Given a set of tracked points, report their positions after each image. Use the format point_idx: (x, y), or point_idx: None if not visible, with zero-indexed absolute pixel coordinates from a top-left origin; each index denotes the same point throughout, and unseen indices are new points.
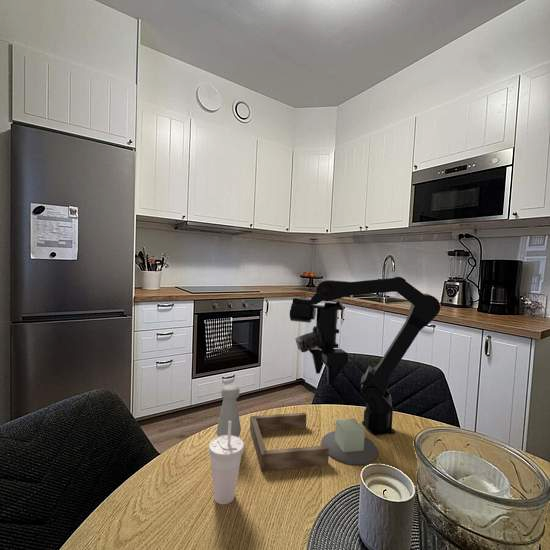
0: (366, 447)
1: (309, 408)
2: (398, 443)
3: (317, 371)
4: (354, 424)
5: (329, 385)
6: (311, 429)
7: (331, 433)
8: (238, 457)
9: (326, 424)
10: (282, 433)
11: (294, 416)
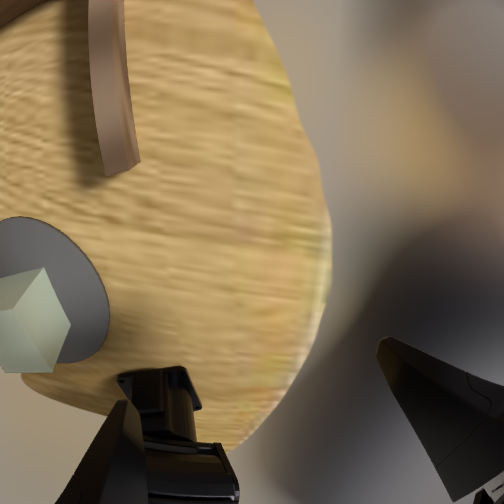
0: None
1: (302, 208)
2: (101, 403)
3: (387, 354)
4: (15, 358)
5: (121, 402)
6: (112, 189)
7: (80, 264)
8: None
9: (159, 257)
10: (80, 68)
11: (94, 109)
